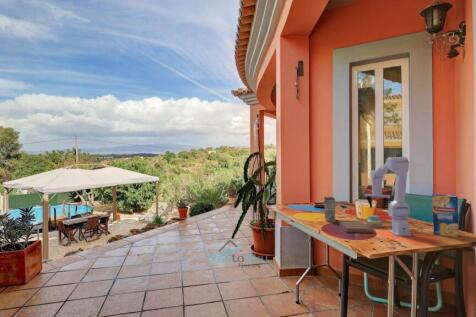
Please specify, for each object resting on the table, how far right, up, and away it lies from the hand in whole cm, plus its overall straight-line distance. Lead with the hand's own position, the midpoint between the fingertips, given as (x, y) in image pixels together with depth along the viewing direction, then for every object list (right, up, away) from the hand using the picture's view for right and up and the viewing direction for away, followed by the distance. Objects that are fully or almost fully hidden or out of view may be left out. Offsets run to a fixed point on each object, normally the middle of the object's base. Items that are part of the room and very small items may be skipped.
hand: (377, 208), depth 171 cm
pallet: (-6, -10, -7) cm, 14 cm away
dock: (-21, -10, -11) cm, 26 cm away
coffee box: (-28, -11, +12) cm, 32 cm away
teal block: (-6, -6, -7) cm, 11 cm away
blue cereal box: (+23, -9, -27) cm, 37 cm away
